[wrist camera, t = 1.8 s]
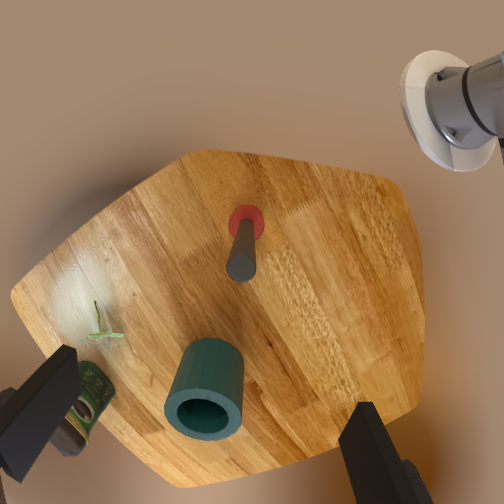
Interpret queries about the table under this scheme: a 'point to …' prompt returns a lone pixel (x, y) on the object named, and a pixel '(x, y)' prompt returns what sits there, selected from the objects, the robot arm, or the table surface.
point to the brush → (244, 242)
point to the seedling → (102, 335)
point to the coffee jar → (83, 411)
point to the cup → (207, 391)
